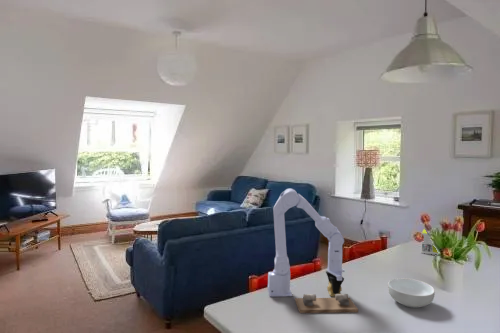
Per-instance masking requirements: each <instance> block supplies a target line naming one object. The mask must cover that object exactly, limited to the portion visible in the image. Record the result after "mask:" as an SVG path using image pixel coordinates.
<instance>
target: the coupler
mask: <svg viewBox="0 0 500 333" xmlns="http://www.w3.org/2000/svg"><path fill="white" fill-rule="evenodd" d="M326 289H327V290H326V291H327V292H328V294H329V296H330V297H335V294H334V293H333V289H332V283H331V281H329V280H328V286H327V287H326ZM342 290H343V288H342V286H341V287H340V290H339V293H338V294H341V292H342Z"/></svg>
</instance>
